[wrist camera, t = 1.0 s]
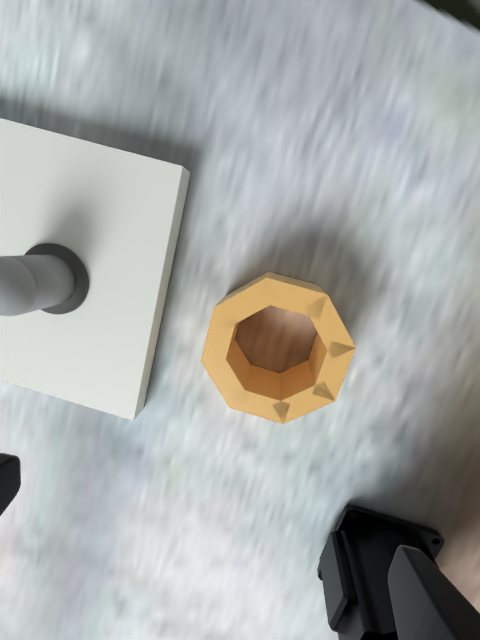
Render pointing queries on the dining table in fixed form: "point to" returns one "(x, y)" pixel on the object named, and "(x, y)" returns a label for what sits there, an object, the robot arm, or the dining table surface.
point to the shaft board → (83, 265)
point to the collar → (265, 385)
